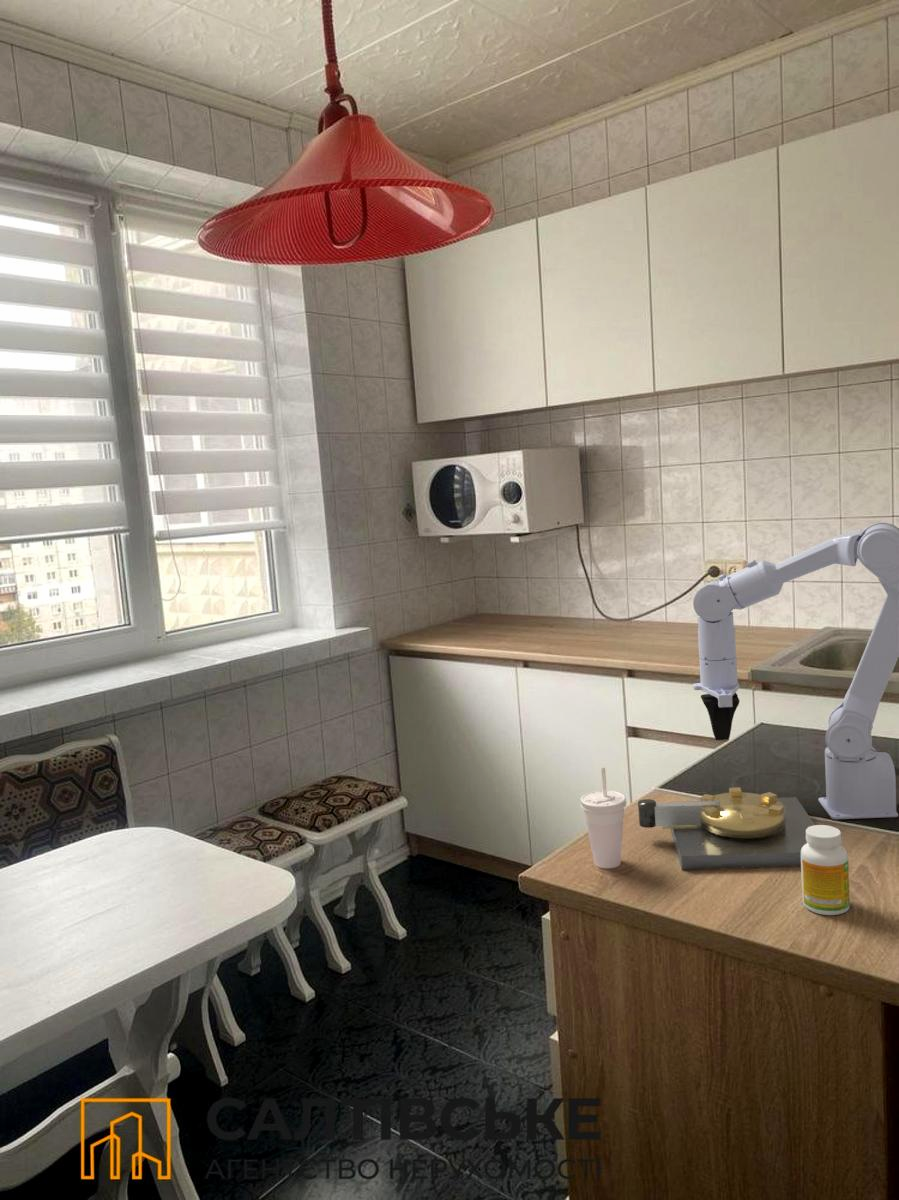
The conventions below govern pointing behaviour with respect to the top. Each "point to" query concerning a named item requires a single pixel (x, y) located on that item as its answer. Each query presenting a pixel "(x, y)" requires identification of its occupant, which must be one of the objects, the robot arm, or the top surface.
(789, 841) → the plate
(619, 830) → the smoothie
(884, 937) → the top surface
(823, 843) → the supplement bottle
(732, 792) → the brass crank disc
